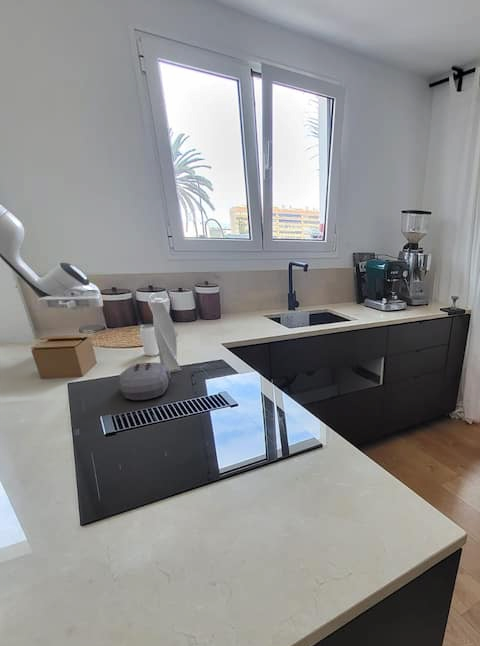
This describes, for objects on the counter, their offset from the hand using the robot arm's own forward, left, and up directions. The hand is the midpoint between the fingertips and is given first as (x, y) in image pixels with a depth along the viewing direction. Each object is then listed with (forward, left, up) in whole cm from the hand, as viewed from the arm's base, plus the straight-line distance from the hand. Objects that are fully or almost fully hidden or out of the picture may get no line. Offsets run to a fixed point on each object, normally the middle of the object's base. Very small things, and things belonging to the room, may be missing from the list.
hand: (63, 305), depth 143 cm
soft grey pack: (+43, -18, -22) cm, 51 cm away
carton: (+4, -8, -22) cm, 24 cm away
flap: (+2, -4, -11) cm, 12 cm away
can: (+20, +17, -22) cm, 34 cm away
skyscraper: (+38, +2, -22) cm, 44 cm away
